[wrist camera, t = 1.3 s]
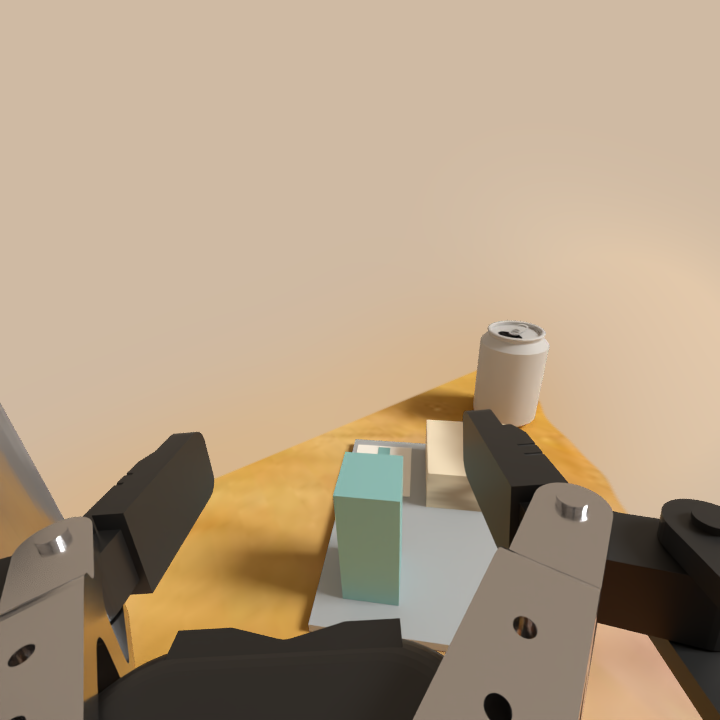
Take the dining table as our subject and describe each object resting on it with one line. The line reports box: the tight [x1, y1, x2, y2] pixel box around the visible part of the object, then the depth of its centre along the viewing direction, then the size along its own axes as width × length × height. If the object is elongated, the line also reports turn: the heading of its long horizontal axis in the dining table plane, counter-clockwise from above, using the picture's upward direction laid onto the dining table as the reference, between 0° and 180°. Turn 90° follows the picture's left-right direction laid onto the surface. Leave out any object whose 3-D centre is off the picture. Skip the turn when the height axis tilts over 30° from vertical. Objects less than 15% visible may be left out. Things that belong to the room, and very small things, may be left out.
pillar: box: [333, 452, 403, 606], centre depth 25 cm, size 4×4×10 cm
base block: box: [425, 420, 505, 512], centre depth 35 cm, size 8×8×4 cm
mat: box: [308, 439, 497, 652], centre depth 32 cm, size 16×20×1 cm
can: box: [473, 321, 549, 428], centre depth 45 cm, size 8×8×12 cm
